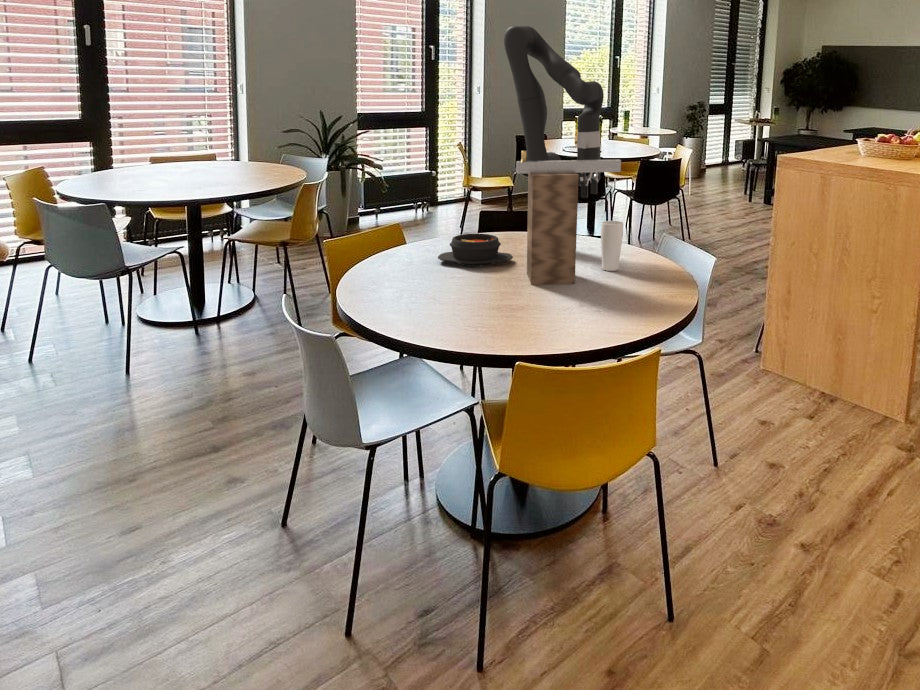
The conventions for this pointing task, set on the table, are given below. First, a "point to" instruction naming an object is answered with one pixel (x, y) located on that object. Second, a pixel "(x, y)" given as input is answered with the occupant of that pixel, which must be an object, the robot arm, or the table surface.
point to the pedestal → (552, 228)
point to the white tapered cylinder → (611, 244)
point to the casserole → (475, 250)
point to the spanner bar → (566, 166)
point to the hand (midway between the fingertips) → (589, 195)
